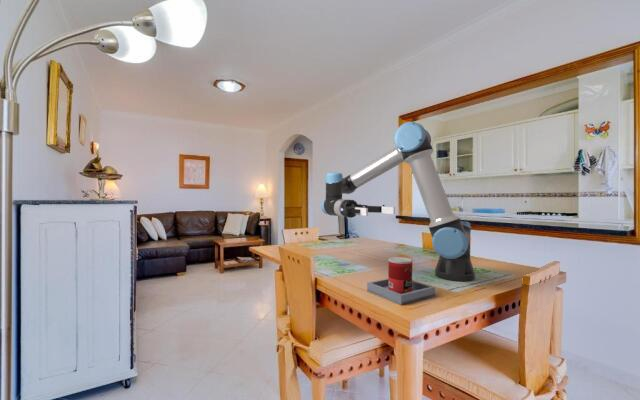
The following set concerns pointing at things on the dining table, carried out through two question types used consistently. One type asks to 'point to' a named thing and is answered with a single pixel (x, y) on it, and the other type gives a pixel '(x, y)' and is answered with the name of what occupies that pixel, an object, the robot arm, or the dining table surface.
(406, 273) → the canned food
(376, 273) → the dining table surface
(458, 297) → the dining table surface
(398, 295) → the tray
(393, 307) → the dining table surface
